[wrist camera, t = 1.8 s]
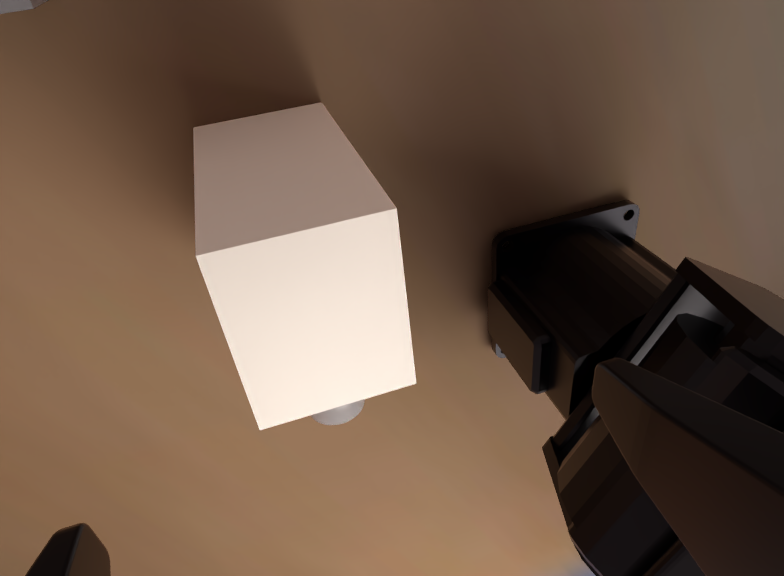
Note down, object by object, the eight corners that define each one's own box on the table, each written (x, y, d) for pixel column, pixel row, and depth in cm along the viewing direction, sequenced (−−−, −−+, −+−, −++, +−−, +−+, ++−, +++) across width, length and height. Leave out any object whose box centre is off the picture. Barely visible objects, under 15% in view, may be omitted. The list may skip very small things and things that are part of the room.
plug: (321, 102, 18) (396, 208, 11) (351, 269, 21) (420, 420, 15) (193, 127, 17) (195, 255, 10) (247, 296, 21) (273, 466, 14)
